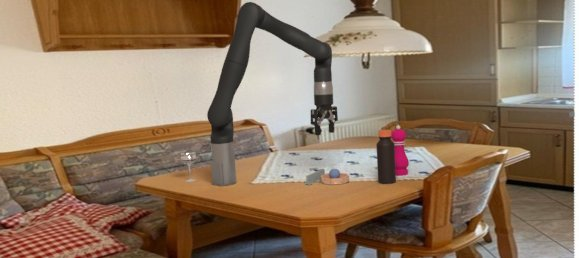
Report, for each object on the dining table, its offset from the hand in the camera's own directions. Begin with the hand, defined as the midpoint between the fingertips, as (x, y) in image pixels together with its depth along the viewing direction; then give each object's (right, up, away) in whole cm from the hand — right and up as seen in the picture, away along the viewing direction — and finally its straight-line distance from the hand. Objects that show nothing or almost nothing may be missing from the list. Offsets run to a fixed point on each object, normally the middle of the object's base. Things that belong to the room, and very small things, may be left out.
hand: (324, 133), depth 226 cm
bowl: (+4, -19, -1) cm, 19 cm away
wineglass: (-57, -21, +20) cm, 64 cm away
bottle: (+23, -19, -7) cm, 31 cm away
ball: (+4, -18, -1) cm, 19 cm away
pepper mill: (+31, -17, +6) cm, 36 cm away
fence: (-3, -19, +3) cm, 20 cm away
